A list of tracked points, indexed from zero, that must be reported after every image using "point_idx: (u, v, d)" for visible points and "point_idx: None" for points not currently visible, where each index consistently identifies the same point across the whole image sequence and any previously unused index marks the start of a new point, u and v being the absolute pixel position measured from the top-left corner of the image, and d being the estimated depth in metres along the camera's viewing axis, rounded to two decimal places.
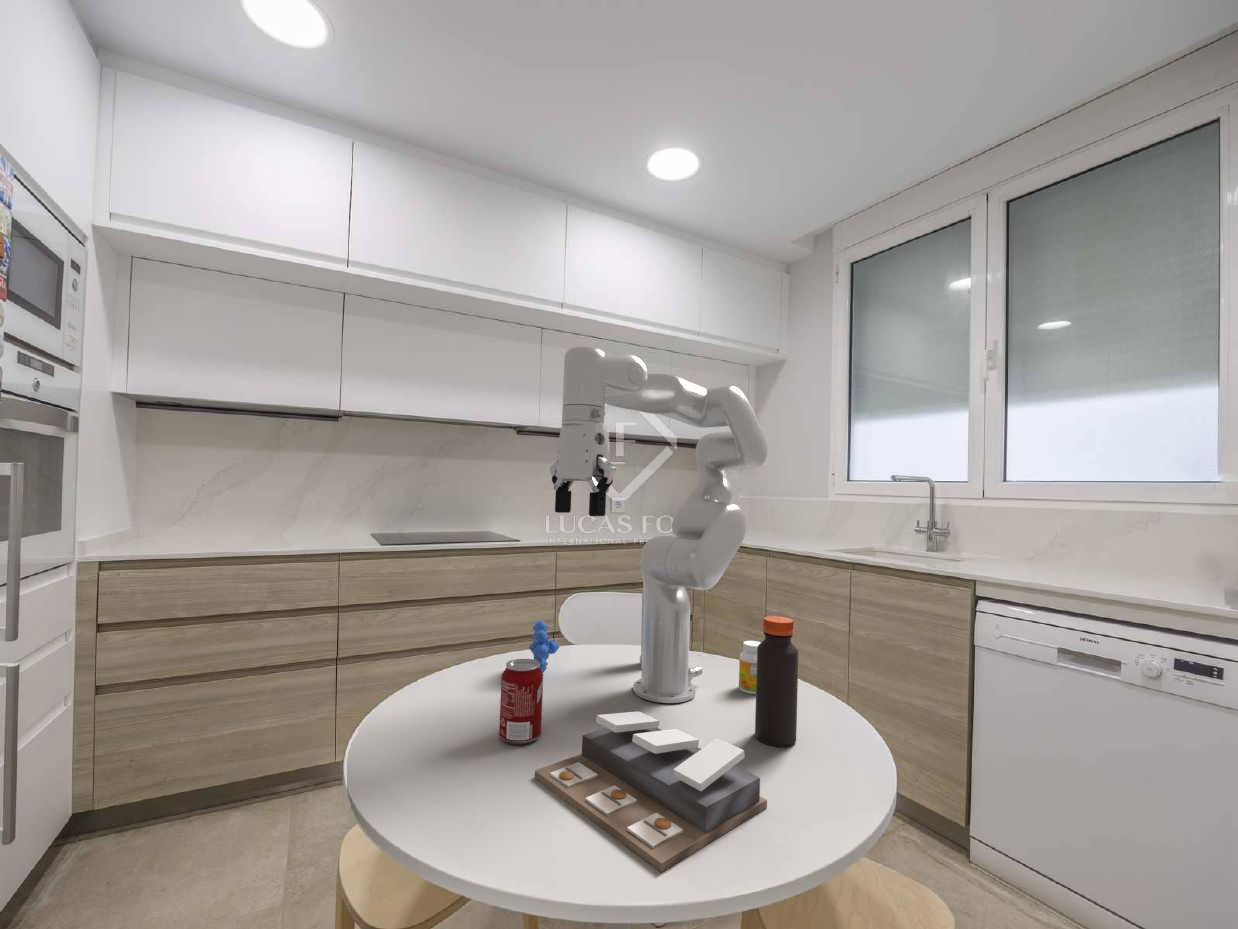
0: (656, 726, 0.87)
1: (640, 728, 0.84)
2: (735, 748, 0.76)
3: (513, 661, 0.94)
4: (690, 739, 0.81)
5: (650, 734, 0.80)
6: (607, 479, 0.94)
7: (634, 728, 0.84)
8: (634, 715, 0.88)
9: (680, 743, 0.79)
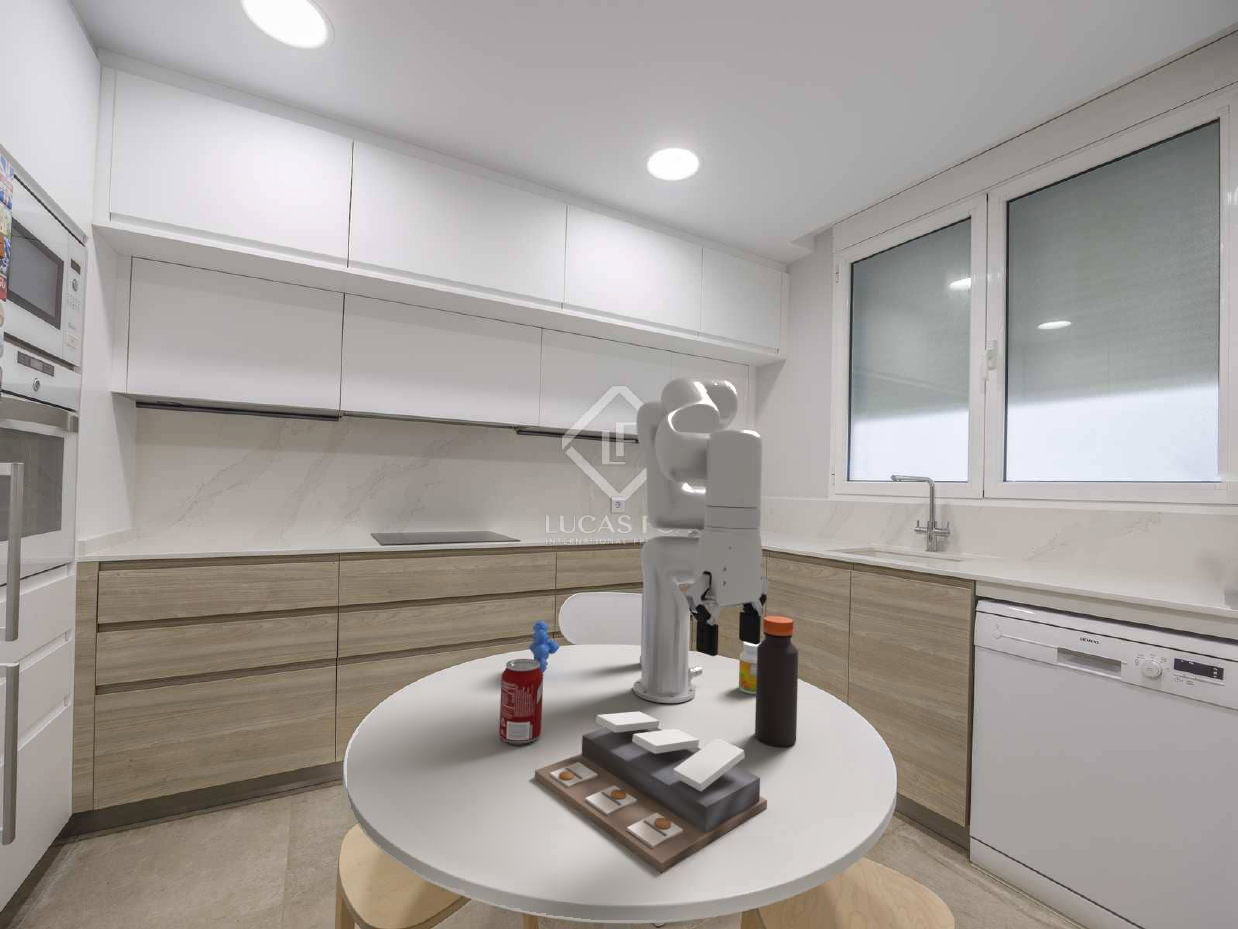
0: (656, 726, 0.87)
1: (640, 728, 0.84)
2: (735, 748, 0.76)
3: (513, 661, 0.94)
4: (690, 739, 0.81)
5: (650, 734, 0.80)
6: None
7: (634, 728, 0.84)
8: (634, 715, 0.88)
9: (680, 743, 0.79)
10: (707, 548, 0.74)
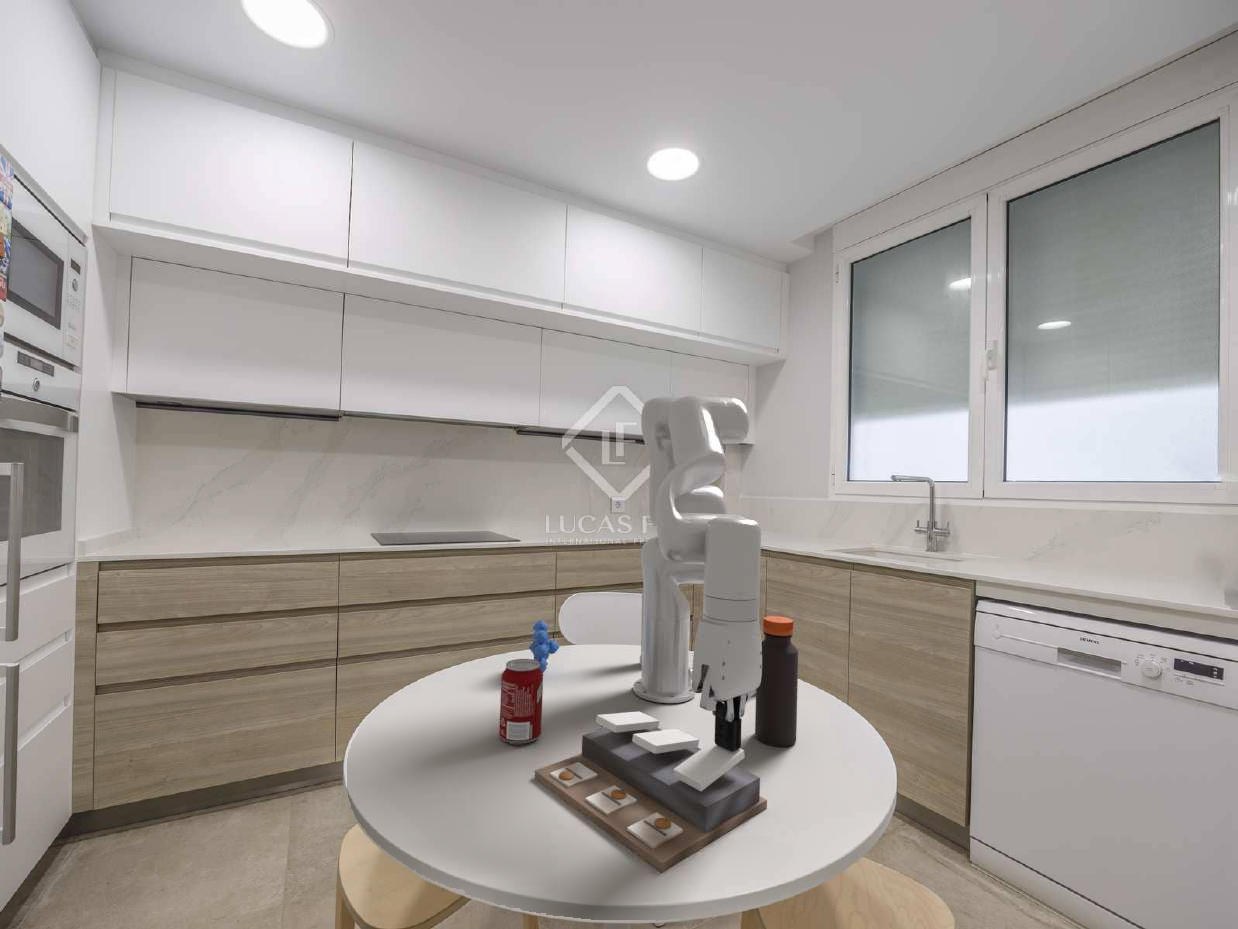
0: (656, 726, 0.87)
1: (640, 728, 0.84)
2: None
3: (513, 661, 0.94)
4: (690, 739, 0.81)
5: (650, 734, 0.80)
6: None
7: (634, 728, 0.84)
8: (634, 715, 0.88)
9: (680, 743, 0.79)
10: (705, 640, 0.74)
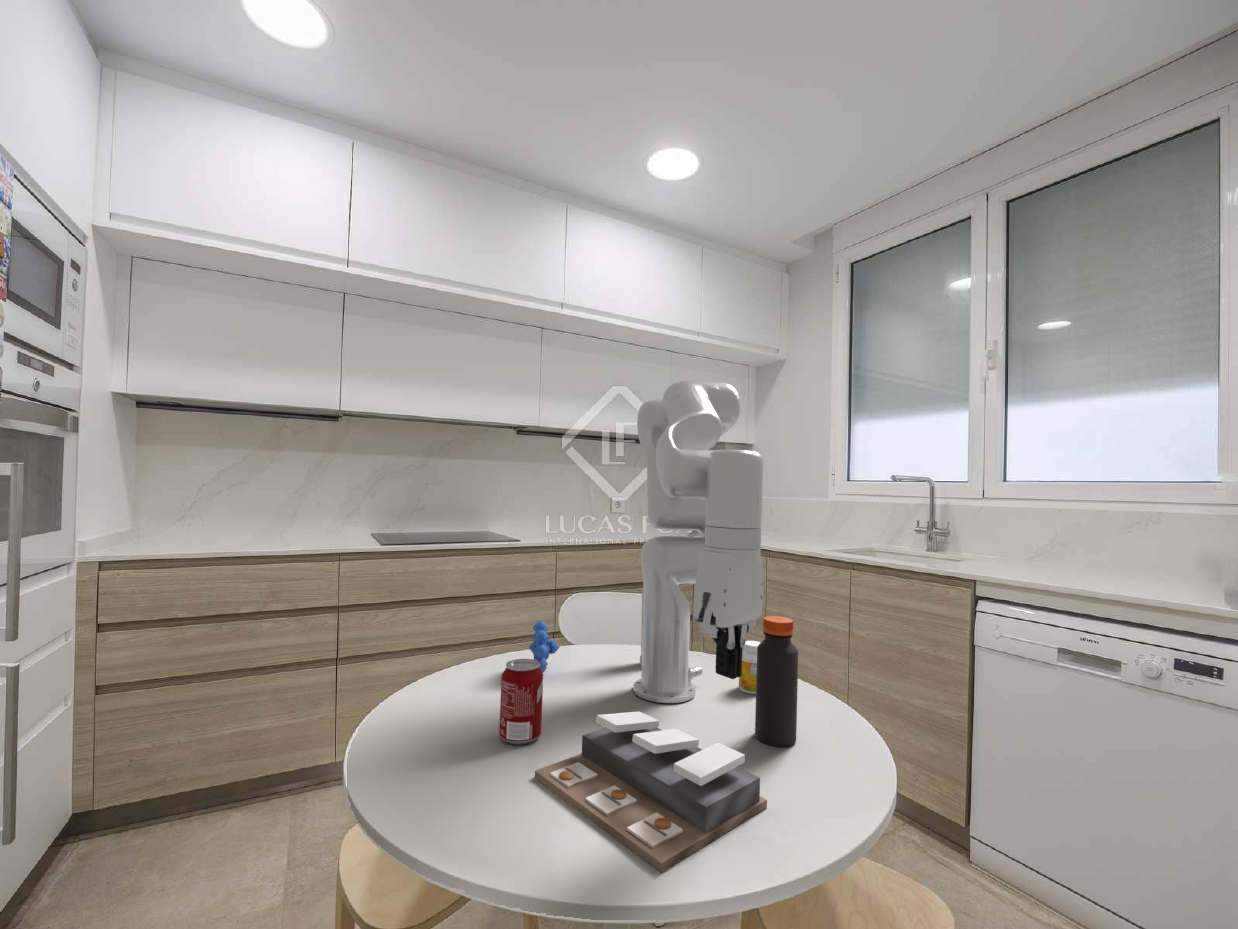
0: (656, 726, 0.87)
1: (640, 728, 0.84)
2: (736, 752, 0.76)
3: (513, 661, 0.94)
4: (690, 739, 0.81)
5: (650, 734, 0.80)
6: (746, 630, 0.79)
7: (634, 728, 0.84)
8: (634, 715, 0.88)
9: (680, 743, 0.79)
10: (707, 569, 0.74)
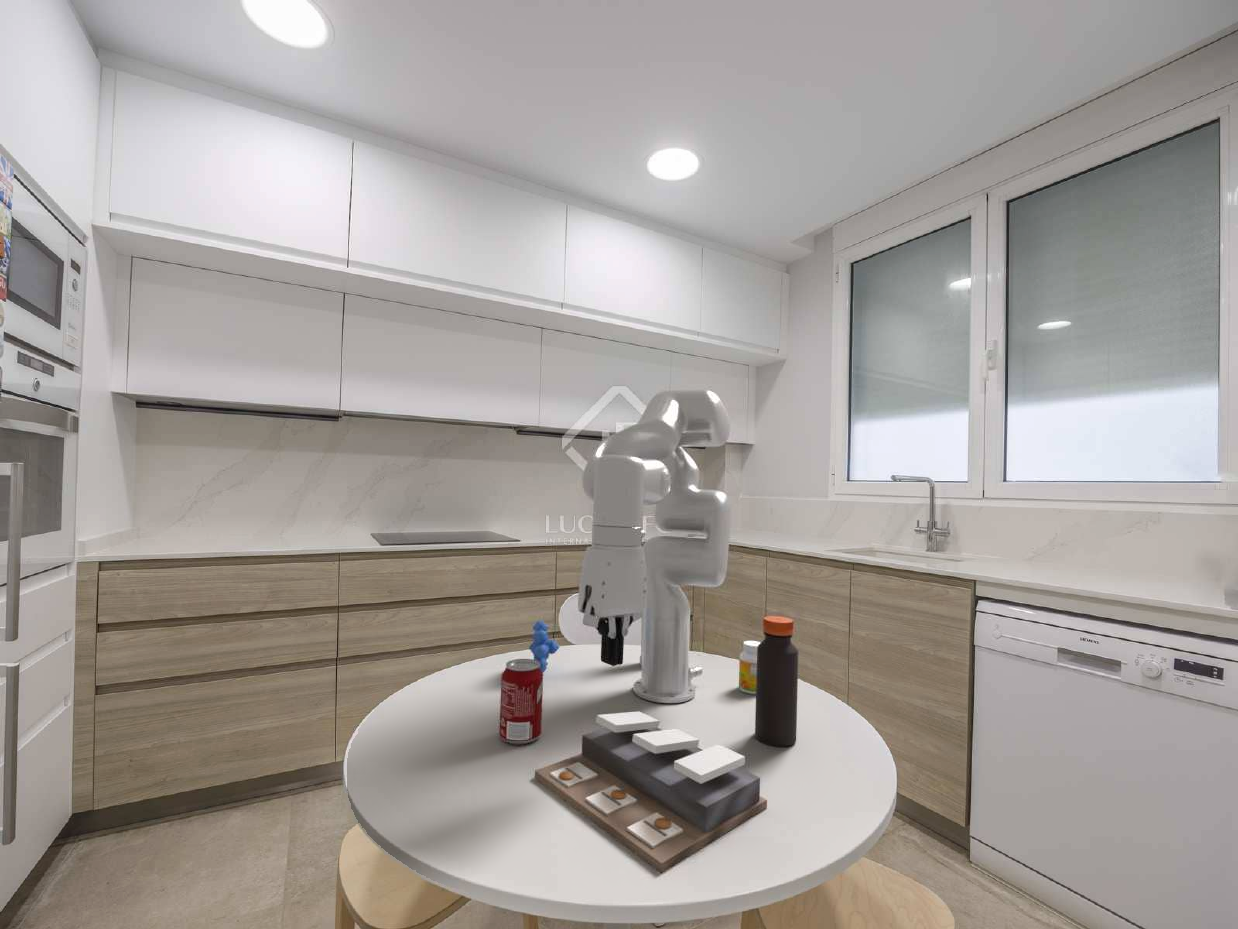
0: (656, 726, 0.87)
1: (640, 728, 0.84)
2: (736, 754, 0.76)
3: (513, 661, 0.94)
4: (690, 739, 0.81)
5: (650, 734, 0.80)
6: None
7: (634, 728, 0.84)
8: (634, 715, 0.88)
9: (680, 743, 0.79)
10: (589, 563, 0.81)
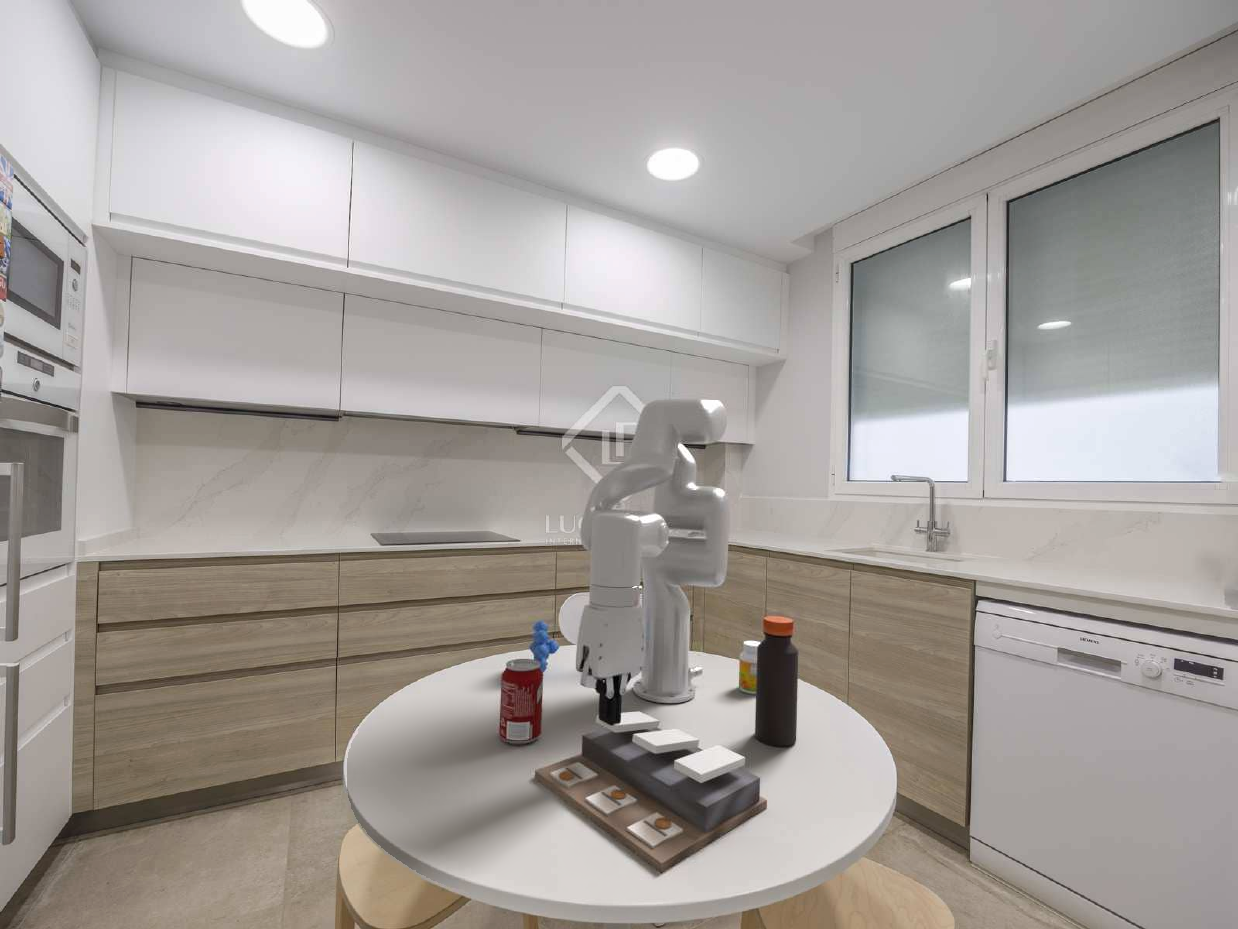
0: (656, 726, 0.87)
1: (640, 728, 0.84)
2: (736, 754, 0.76)
3: (513, 661, 0.94)
4: (690, 739, 0.81)
5: (650, 734, 0.80)
6: None
7: (634, 728, 0.84)
8: (634, 715, 0.88)
9: (680, 743, 0.79)
10: (587, 624, 0.81)
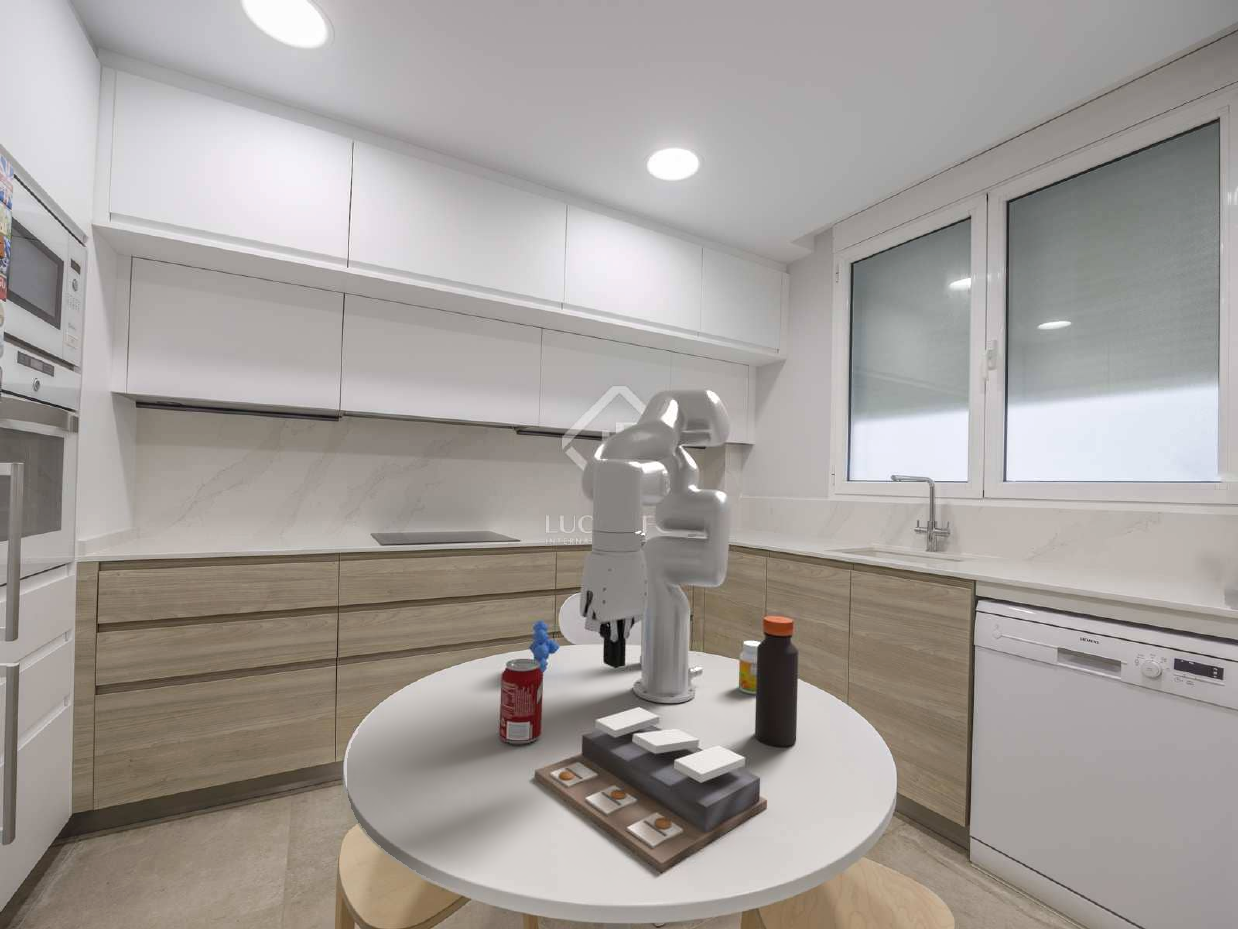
0: (656, 722, 0.87)
1: (640, 727, 0.84)
2: (736, 754, 0.76)
3: (513, 661, 0.94)
4: (690, 739, 0.81)
5: (650, 734, 0.80)
6: None
7: (634, 729, 0.84)
8: (633, 713, 0.88)
9: (680, 743, 0.79)
10: (590, 569, 0.82)
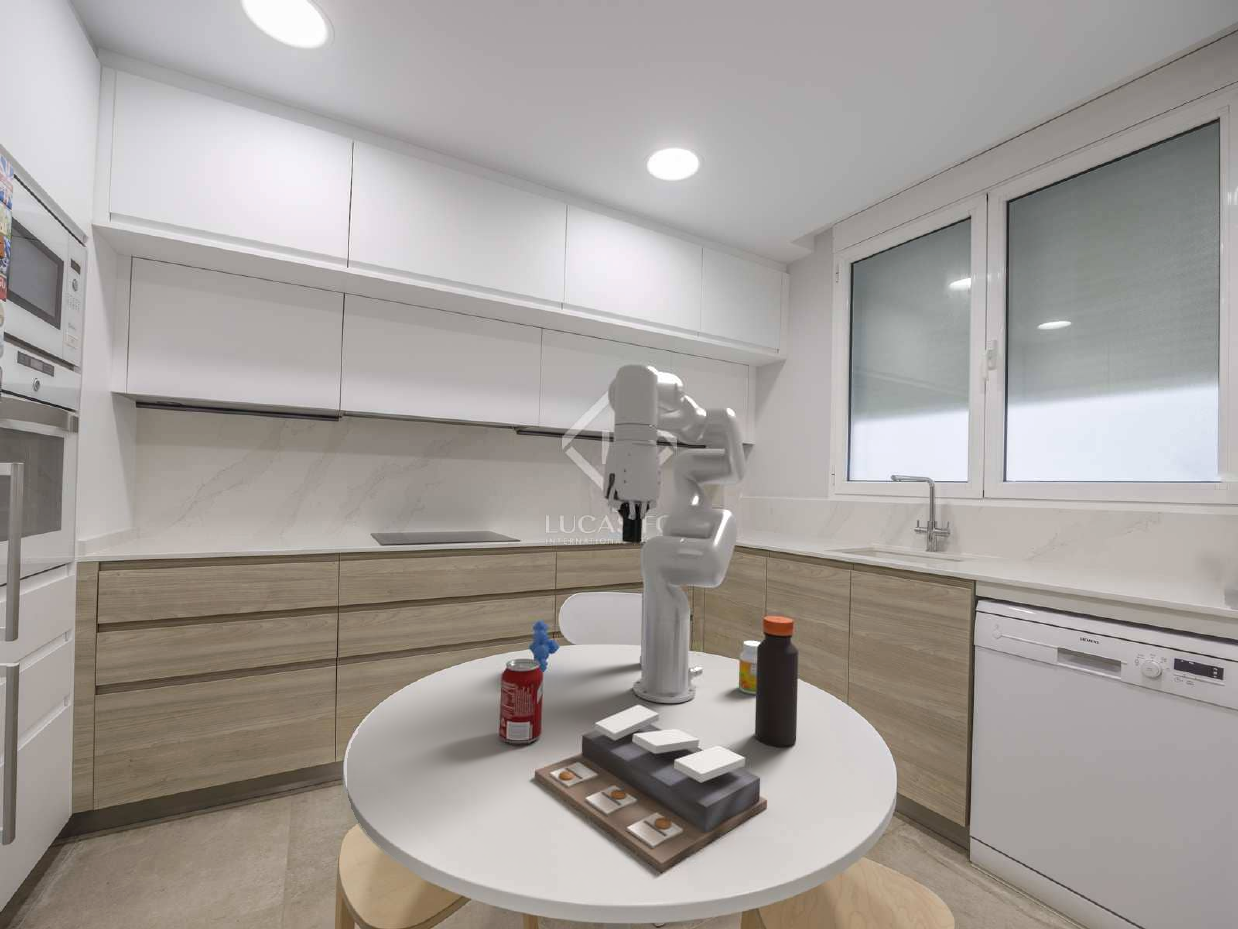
0: (656, 719, 0.87)
1: (640, 727, 0.84)
2: (736, 755, 0.76)
3: (513, 661, 0.94)
4: (690, 739, 0.81)
5: (650, 734, 0.80)
6: None
7: (634, 729, 0.84)
8: (633, 712, 0.88)
9: (680, 743, 0.79)
10: (612, 455, 0.96)
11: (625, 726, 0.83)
